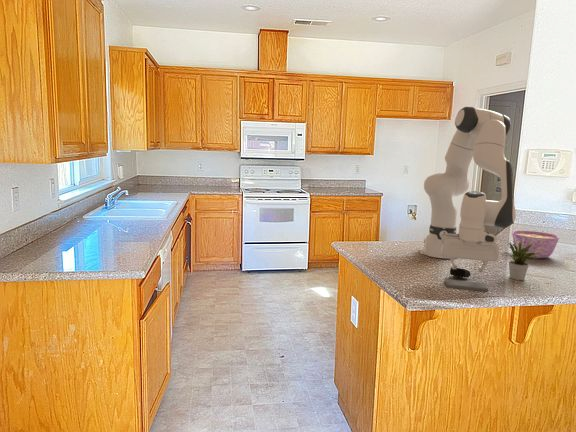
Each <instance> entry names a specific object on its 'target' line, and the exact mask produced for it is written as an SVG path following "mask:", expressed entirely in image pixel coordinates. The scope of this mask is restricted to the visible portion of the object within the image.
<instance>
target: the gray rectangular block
mask: <svg viewBox="0 0 576 432" xmlns="http://www.w3.org/2000/svg"><path fill="white" fill-rule="evenodd" d="M444 283H445V285H446V288H451V289H461V290H462V289H463V290H470V291H472V290H473V291H479V292H480V291H481V292H489V287H488V286H487V284H486V283H485V282H481V281H480V282H479V281H469V280H461V279H460V280H459V279H451V278H444Z"/></svg>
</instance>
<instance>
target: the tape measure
mask: <svg viewBox="0 0 576 432" xmlns="http://www.w3.org/2000/svg"><path fill="white" fill-rule="evenodd" d="M449 274H450V275H451V276H453V278H461V279H463V278H469V277H471V275H472V274H471V271H470V270H468V269H465V268H460V267H457V270H453V269H452V266H451V267H450V269H449Z"/></svg>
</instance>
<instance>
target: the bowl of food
mask: <svg viewBox="0 0 576 432" xmlns="http://www.w3.org/2000/svg"><path fill="white" fill-rule="evenodd" d="M511 235H512V243H513V242H514V243H515V245H516V246H517V248H518V251H519V242H521V240H522V239H523V240H522V244H521V249H523V248H526V247H527V246H528V245H529V244H531V243H533V244H532V245H531V247H530V248H529V249H528V250H529V251H528V250H527V251H528V252H527V251H526V252H527V253H536V254H535V255H531V256H530V257H534V258H535V259H546V258H548V257H551V256H552V255H553V253H554V252H555V249H556V247H557V245H558V242H559V239H560V236H559V235H556V234H553V233H548V232H541V231H534V230H533V231H532V230H514V231H512V232H511ZM528 242H529V243H528ZM514 243H513V244H514ZM525 244H526V245H525ZM524 245H525V246H524ZM523 246H524V247H523ZM536 246H537V247H536ZM533 247H534V248H533ZM531 248H532V249H531ZM527 253H526V254H527ZM524 256H525V255H524ZM524 256H523V257H524Z"/></svg>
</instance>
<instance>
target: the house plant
mask: <svg viewBox="0 0 576 432" xmlns="http://www.w3.org/2000/svg"><path fill="white" fill-rule="evenodd" d="M522 240H523V239H522ZM522 240H521V242H519V251H518V248H517V246H516V245H515V243H514V242H513V239H510V241H509V242H508V248H509V249H510V250H511V252H512V254H510V253H509V252H503V253H502V254H504V255H506V256H509V257H511V258H512V259H513V260H509V261H508V269H509V278H510V279H513V280H516V281H524V280H525V279H526V274H527V271H528V268H529V263H528V262H526V261H527V260H529V261H531V262H532V260H535V261H537V258H534V257H530V256H531V255H535V254H536V253H527V252H528V251H529V250H528V249H529V248H530V247H531V245H532V244H533V243H531V244H529V245H528V246H527V247H526V248H523V249H521V244H522ZM499 241H502V240H499ZM511 241H512V242H511ZM528 243H529V242H528ZM525 245H526V244H525ZM525 245H524V246H525ZM524 246H523V247H524ZM536 247H537V246H536ZM533 248H534V247H533ZM531 249H532V248H531ZM527 250H528V251H527ZM526 251H527V252H526ZM526 253H527V254H526ZM524 255H525V256H524Z"/></svg>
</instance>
